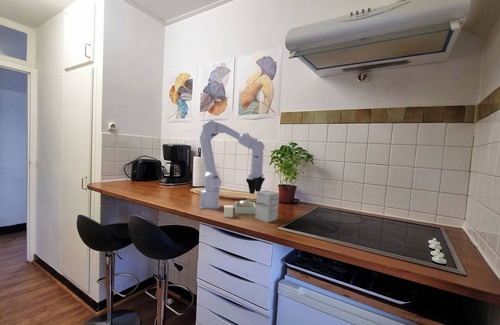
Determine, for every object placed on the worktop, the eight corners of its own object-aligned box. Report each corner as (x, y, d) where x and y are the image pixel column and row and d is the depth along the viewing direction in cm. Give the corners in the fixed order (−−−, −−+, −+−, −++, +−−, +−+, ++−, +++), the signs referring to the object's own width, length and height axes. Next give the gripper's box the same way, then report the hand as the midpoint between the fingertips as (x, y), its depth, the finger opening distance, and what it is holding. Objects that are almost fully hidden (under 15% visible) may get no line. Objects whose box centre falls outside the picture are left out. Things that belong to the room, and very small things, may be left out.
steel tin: (239, 211, 115) (239, 202, 114) (239, 208, 120) (239, 199, 120) (250, 211, 115) (251, 202, 115) (250, 208, 121) (250, 200, 120)
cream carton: (223, 218, 103) (224, 207, 103) (223, 215, 107) (224, 205, 107) (232, 218, 103) (233, 207, 103) (232, 216, 107) (233, 205, 107)
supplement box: (254, 219, 104) (256, 191, 104) (265, 216, 110) (266, 189, 109) (267, 223, 99) (269, 194, 99) (277, 220, 105) (279, 192, 104)
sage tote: (234, 214, 110) (235, 206, 110) (234, 207, 122) (235, 201, 122) (255, 215, 111) (256, 207, 111) (253, 208, 123) (254, 202, 123)
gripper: (259, 166, 107) (257, 195, 108) (269, 165, 121) (267, 191, 121) (245, 165, 110) (243, 193, 111) (256, 164, 123) (254, 189, 124)
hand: (255, 192), depth 116 cm, fingers open, 7 cm apart
